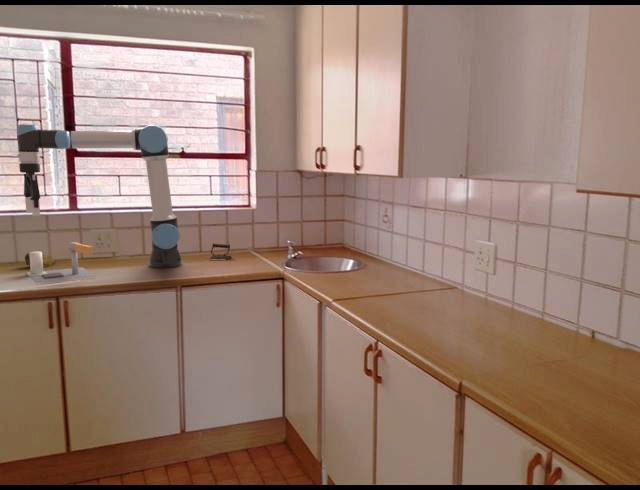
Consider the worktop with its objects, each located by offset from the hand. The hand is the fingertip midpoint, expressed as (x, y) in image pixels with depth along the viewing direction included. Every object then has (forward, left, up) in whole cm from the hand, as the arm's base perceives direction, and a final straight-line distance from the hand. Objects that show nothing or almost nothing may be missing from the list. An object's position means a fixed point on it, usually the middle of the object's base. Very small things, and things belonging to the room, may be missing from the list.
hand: (33, 214), depth 233 cm
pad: (0, 0, -26) cm, 26 cm away
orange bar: (-15, +13, -15) cm, 25 cm away
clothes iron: (-83, +7, -27) cm, 88 cm away
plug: (0, 0, -25) cm, 25 cm away
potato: (-5, -17, -27) cm, 32 cm away
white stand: (-8, +6, -27) cm, 28 cm away
